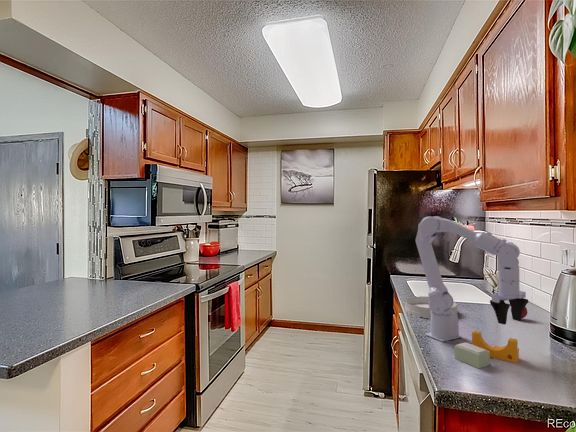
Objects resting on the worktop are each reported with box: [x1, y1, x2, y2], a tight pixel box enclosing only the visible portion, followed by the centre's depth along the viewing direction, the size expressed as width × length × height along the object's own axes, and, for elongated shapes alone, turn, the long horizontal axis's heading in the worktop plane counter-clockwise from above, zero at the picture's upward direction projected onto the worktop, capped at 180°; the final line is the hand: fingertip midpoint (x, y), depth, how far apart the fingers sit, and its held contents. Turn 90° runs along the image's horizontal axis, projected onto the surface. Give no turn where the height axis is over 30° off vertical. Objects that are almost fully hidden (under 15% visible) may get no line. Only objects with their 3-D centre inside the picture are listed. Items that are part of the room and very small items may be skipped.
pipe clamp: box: [471, 330, 520, 364], centre depth 109 cm, size 12×4×6 cm, turn 46°
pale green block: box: [454, 342, 491, 369], centre depth 105 cm, size 5×8×4 cm, turn 26°
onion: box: [510, 306, 528, 320], centre depth 145 cm, size 6×6×8 cm
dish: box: [404, 296, 458, 320], centre depth 157 cm, size 22×22×5 cm
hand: (509, 321), depth 113 cm, fingers open, 7 cm apart
